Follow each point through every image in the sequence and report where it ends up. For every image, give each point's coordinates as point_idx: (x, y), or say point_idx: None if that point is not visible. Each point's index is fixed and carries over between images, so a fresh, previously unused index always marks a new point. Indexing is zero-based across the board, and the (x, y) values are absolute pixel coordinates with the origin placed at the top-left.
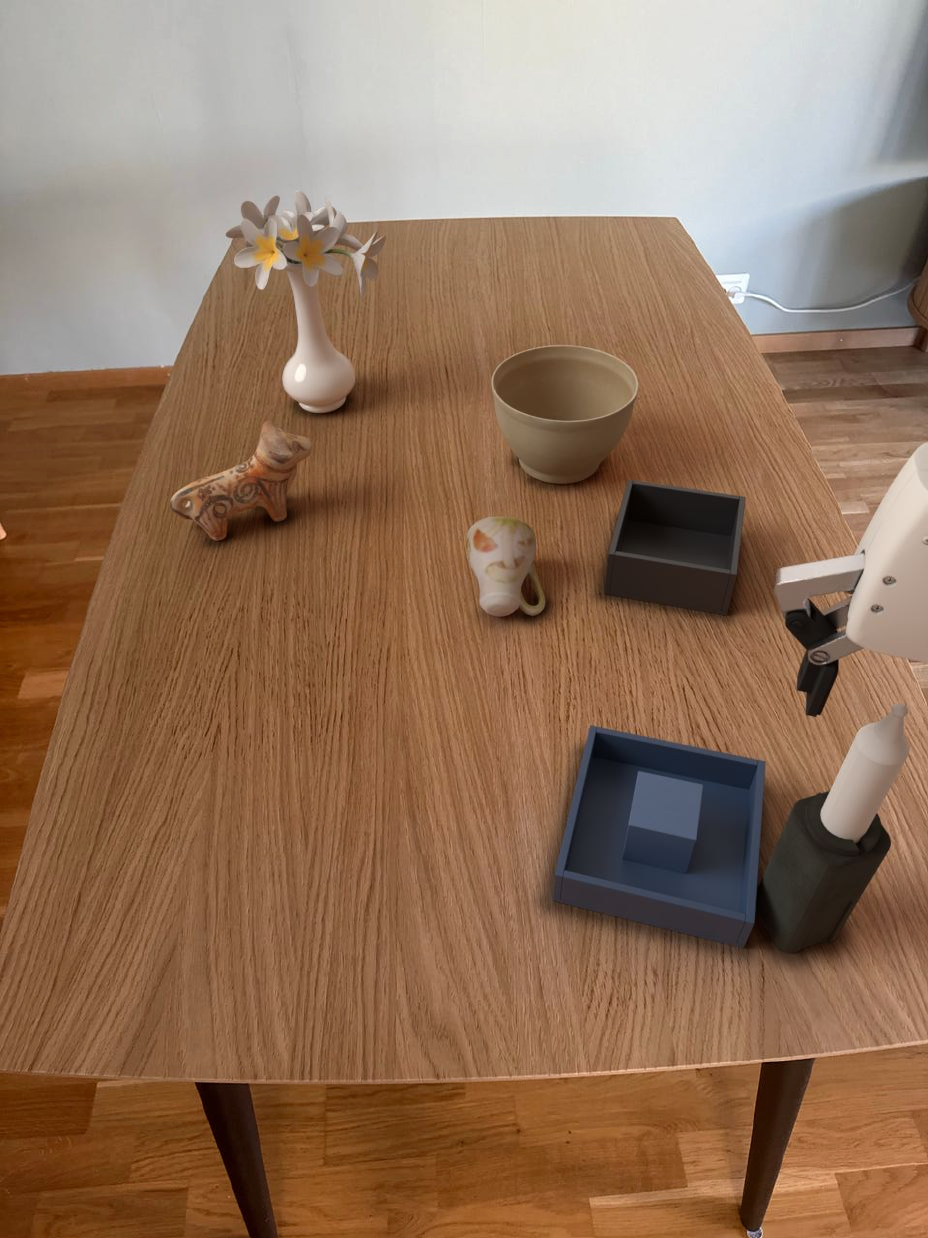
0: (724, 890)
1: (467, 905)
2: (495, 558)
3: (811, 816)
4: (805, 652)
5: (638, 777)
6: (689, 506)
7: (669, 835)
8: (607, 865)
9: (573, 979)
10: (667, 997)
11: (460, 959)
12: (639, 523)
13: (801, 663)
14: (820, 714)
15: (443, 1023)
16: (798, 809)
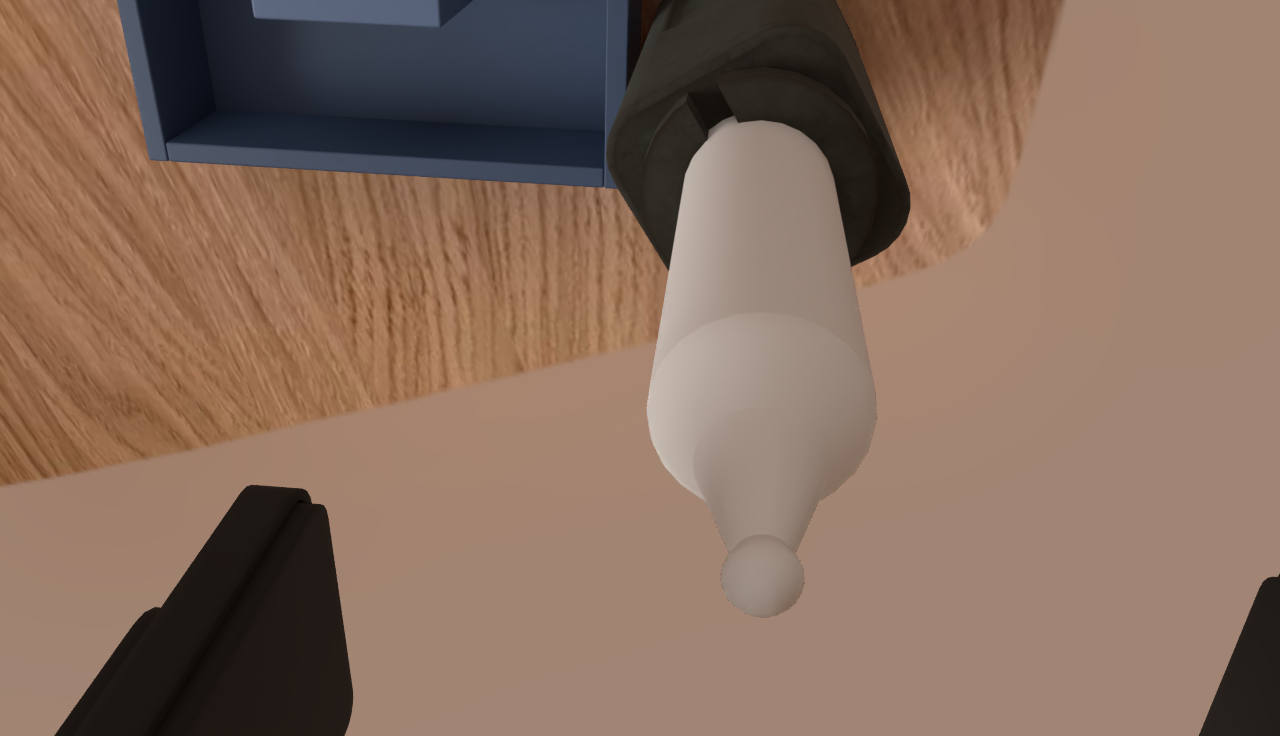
0: (580, 18)
1: (45, 168)
2: None
3: (652, 206)
4: (60, 731)
5: None
6: None
7: (369, 22)
8: None
9: (310, 277)
10: (494, 277)
11: (91, 280)
12: None
13: (115, 657)
14: (345, 729)
15: (122, 391)
16: (623, 151)
